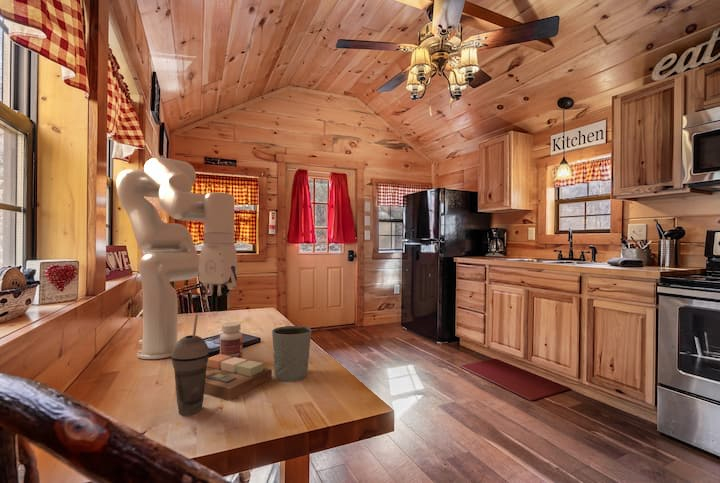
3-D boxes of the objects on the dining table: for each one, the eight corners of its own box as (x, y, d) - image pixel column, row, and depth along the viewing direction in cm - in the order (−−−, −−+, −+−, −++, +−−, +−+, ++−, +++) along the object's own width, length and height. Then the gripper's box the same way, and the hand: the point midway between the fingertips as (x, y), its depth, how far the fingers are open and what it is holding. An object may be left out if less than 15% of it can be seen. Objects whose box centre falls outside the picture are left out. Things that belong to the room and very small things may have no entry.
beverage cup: (179, 403, 81) (179, 311, 81) (213, 402, 82) (214, 311, 82) (164, 419, 74) (164, 318, 74) (202, 418, 75) (202, 318, 75)
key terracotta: (205, 366, 97) (205, 358, 97) (219, 361, 101) (219, 353, 101) (218, 369, 95) (218, 361, 95) (231, 363, 99) (231, 356, 99)
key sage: (236, 373, 92) (236, 365, 92) (249, 368, 96) (249, 360, 96) (250, 376, 90) (250, 368, 90) (263, 371, 94) (263, 363, 94)
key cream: (220, 369, 95) (220, 361, 95) (234, 364, 99) (234, 357, 99) (233, 372, 93) (233, 364, 93) (247, 367, 97) (247, 359, 97)
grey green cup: (264, 379, 95) (264, 332, 95) (285, 366, 105) (285, 323, 105) (299, 384, 92) (299, 336, 92) (317, 371, 101) (318, 327, 101)
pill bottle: (245, 364, 106) (245, 324, 106) (222, 368, 103) (222, 327, 103) (238, 358, 112) (239, 320, 112) (217, 362, 108) (217, 323, 108)
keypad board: (175, 385, 91) (175, 372, 91) (221, 367, 104) (221, 356, 104) (229, 400, 83) (229, 386, 83) (271, 379, 95) (271, 367, 95)
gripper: (187, 240, 98) (187, 309, 98) (229, 240, 91) (228, 315, 91) (210, 239, 105) (210, 305, 105) (251, 240, 98) (251, 310, 98)
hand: (219, 309), depth 98 cm, fingers closed
